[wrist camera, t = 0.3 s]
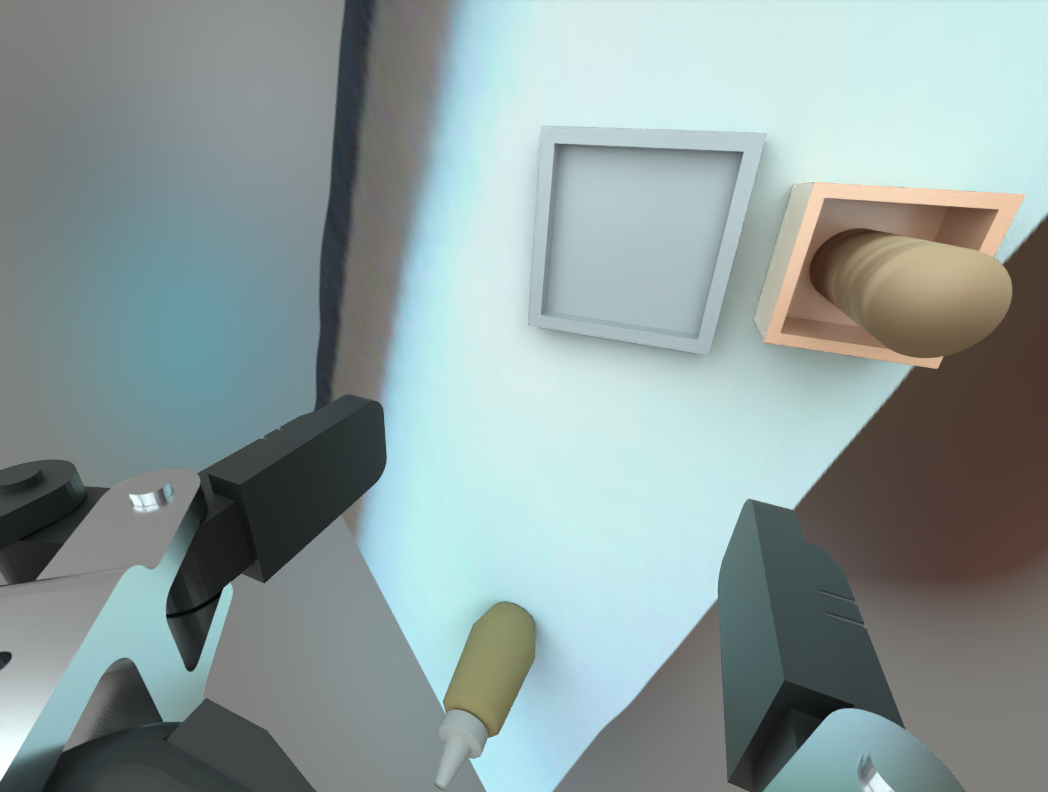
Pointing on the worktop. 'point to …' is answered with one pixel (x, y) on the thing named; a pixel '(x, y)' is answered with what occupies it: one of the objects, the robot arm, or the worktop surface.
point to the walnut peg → (912, 290)
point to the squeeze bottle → (484, 685)
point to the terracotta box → (831, 208)
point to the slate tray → (639, 231)
